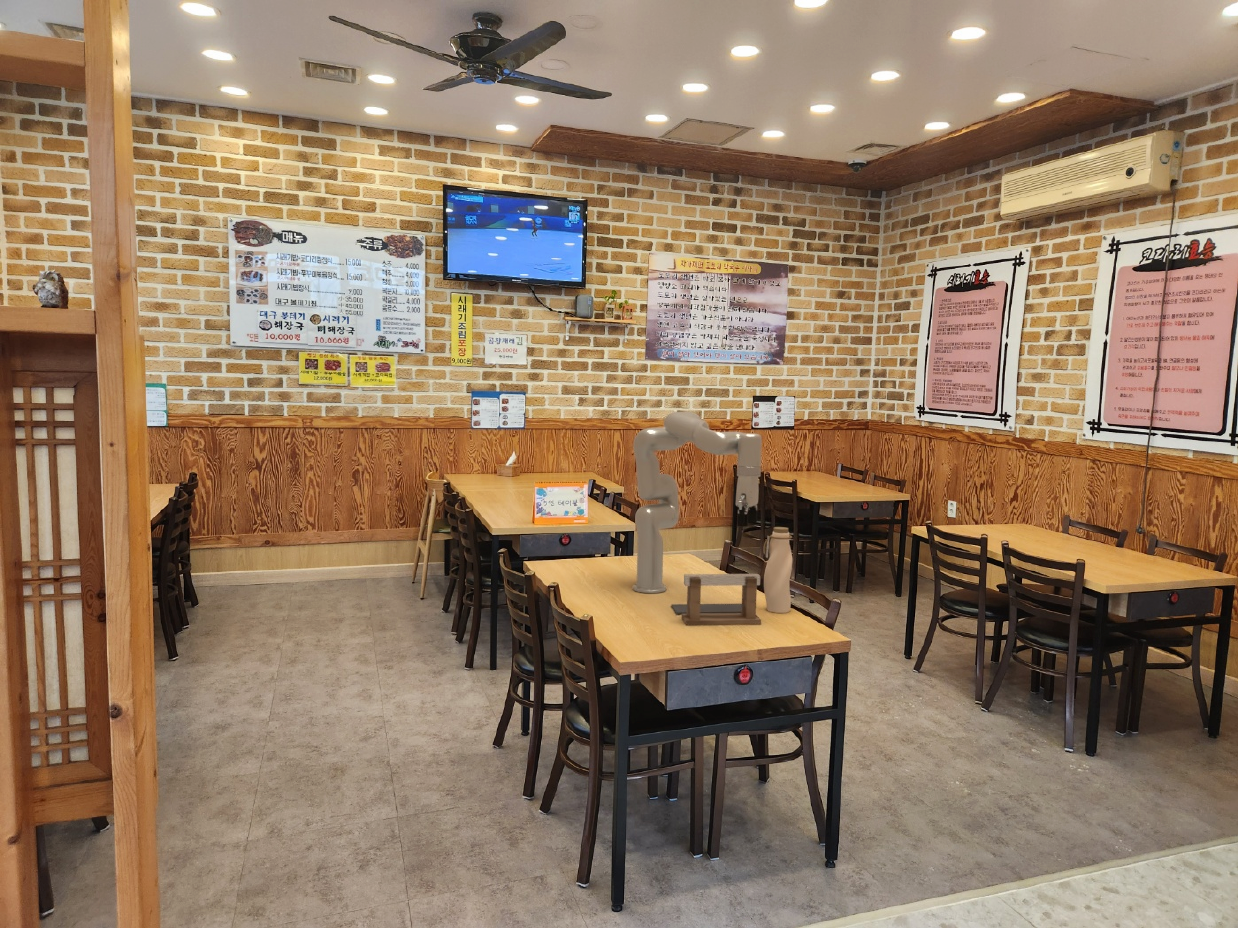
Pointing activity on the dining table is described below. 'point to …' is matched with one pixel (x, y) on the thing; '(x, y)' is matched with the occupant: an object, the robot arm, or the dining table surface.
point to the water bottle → (778, 571)
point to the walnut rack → (742, 618)
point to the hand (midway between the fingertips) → (747, 524)
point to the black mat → (709, 608)
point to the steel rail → (720, 579)
